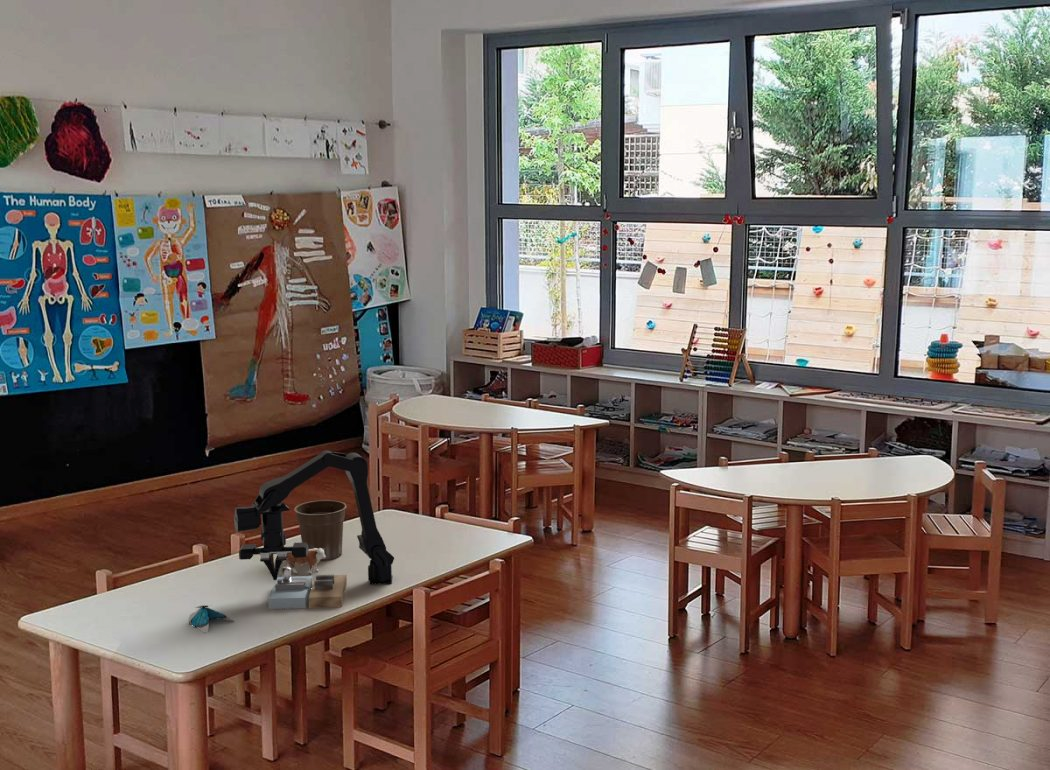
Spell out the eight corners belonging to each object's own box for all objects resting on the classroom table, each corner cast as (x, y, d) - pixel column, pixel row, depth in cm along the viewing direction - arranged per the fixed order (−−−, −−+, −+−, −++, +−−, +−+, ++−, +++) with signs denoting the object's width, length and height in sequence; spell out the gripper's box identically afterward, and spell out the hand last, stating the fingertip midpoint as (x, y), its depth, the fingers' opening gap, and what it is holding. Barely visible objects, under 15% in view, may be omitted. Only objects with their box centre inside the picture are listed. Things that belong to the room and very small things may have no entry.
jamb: (346, 584, 320) (346, 567, 319) (341, 606, 302) (341, 588, 301) (316, 585, 319) (315, 568, 318) (309, 607, 301) (308, 589, 301)
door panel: (312, 585, 319) (311, 570, 318) (305, 608, 301) (304, 592, 301) (278, 586, 318) (277, 571, 318) (268, 609, 301) (268, 593, 300)
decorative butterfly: (206, 600, 298) (230, 598, 292) (211, 623, 298) (236, 621, 292) (176, 612, 289) (201, 610, 284) (182, 635, 289) (206, 634, 284)
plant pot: (311, 567, 335) (309, 517, 333) (287, 554, 348) (285, 506, 345) (357, 556, 345) (355, 507, 343) (332, 544, 358) (330, 497, 355)
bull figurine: (325, 576, 327) (324, 550, 326) (283, 573, 330) (282, 547, 329) (330, 571, 331) (329, 546, 330) (289, 568, 334) (288, 543, 333)
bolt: (310, 584, 311) (310, 565, 310) (309, 587, 309) (309, 568, 308) (282, 585, 310) (281, 566, 309) (281, 588, 308) (280, 569, 307)
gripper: (309, 517, 315) (311, 569, 317) (244, 519, 313) (247, 571, 316) (304, 529, 304) (307, 582, 306) (237, 531, 302) (240, 584, 305)
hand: (275, 579), depth 309 cm, fingers closed
